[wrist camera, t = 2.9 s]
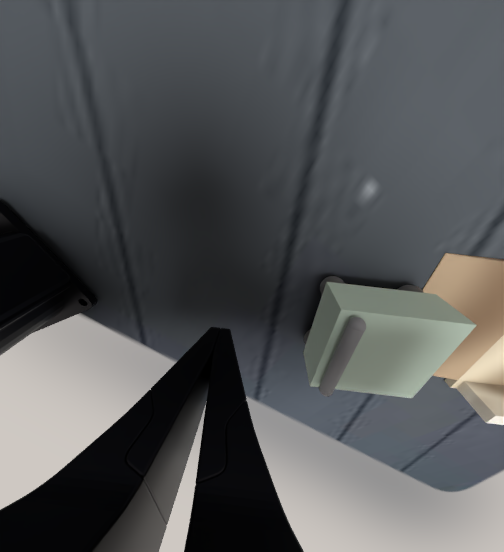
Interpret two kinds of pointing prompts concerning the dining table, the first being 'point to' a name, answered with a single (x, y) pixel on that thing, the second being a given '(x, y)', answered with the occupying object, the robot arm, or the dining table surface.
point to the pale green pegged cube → (380, 338)
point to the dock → (475, 330)
